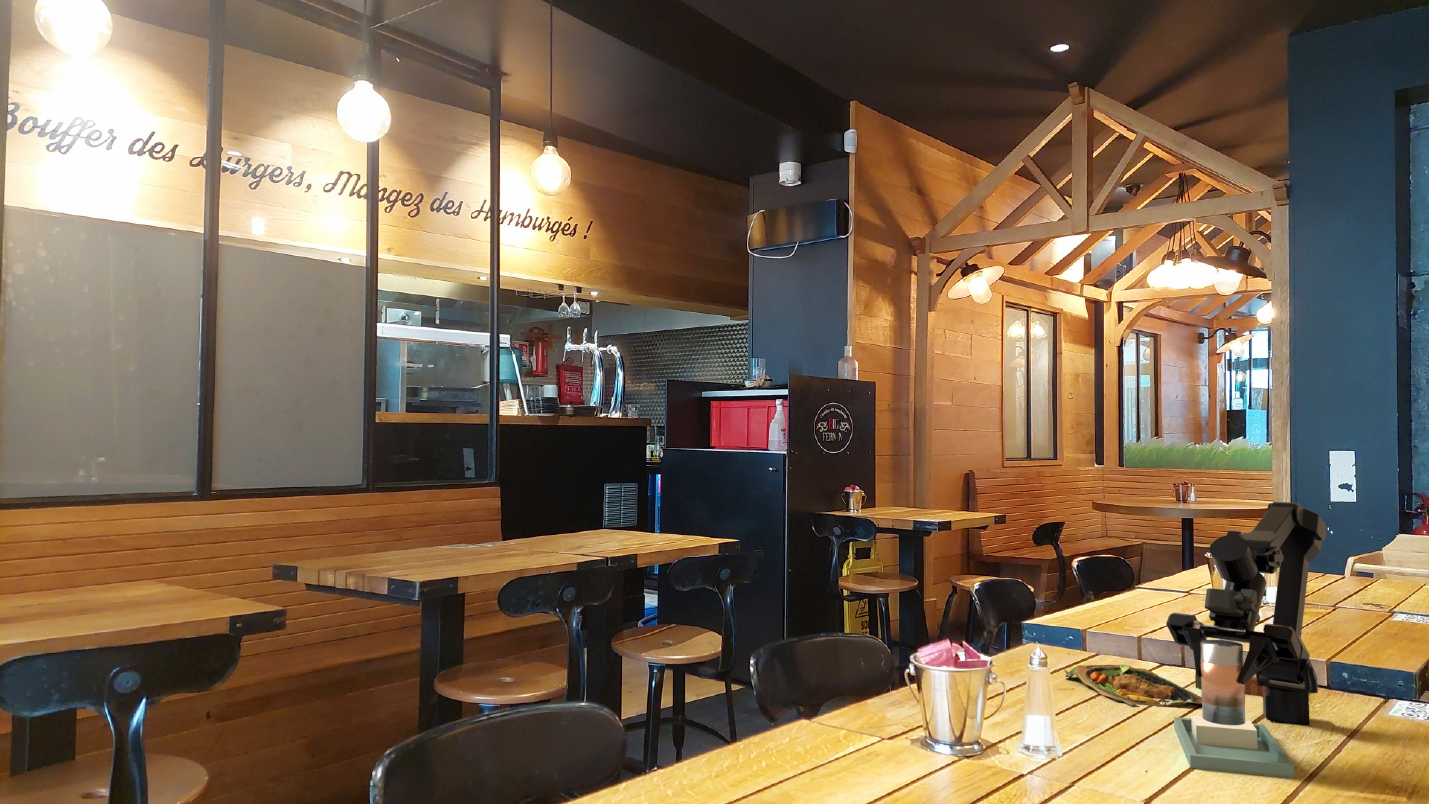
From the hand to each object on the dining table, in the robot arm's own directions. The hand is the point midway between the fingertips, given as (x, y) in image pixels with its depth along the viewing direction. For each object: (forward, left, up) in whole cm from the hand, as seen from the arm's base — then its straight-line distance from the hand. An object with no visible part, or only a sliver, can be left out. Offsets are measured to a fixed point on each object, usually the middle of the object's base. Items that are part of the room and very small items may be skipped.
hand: (1219, 679), depth 151 cm
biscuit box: (-2, -11, -13) cm, 17 cm away
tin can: (-1, -1, -7) cm, 7 cm away
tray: (-2, -6, -13) cm, 15 cm away
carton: (-11, -53, -14) cm, 56 cm away
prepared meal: (+10, -45, -14) cm, 48 cm away
